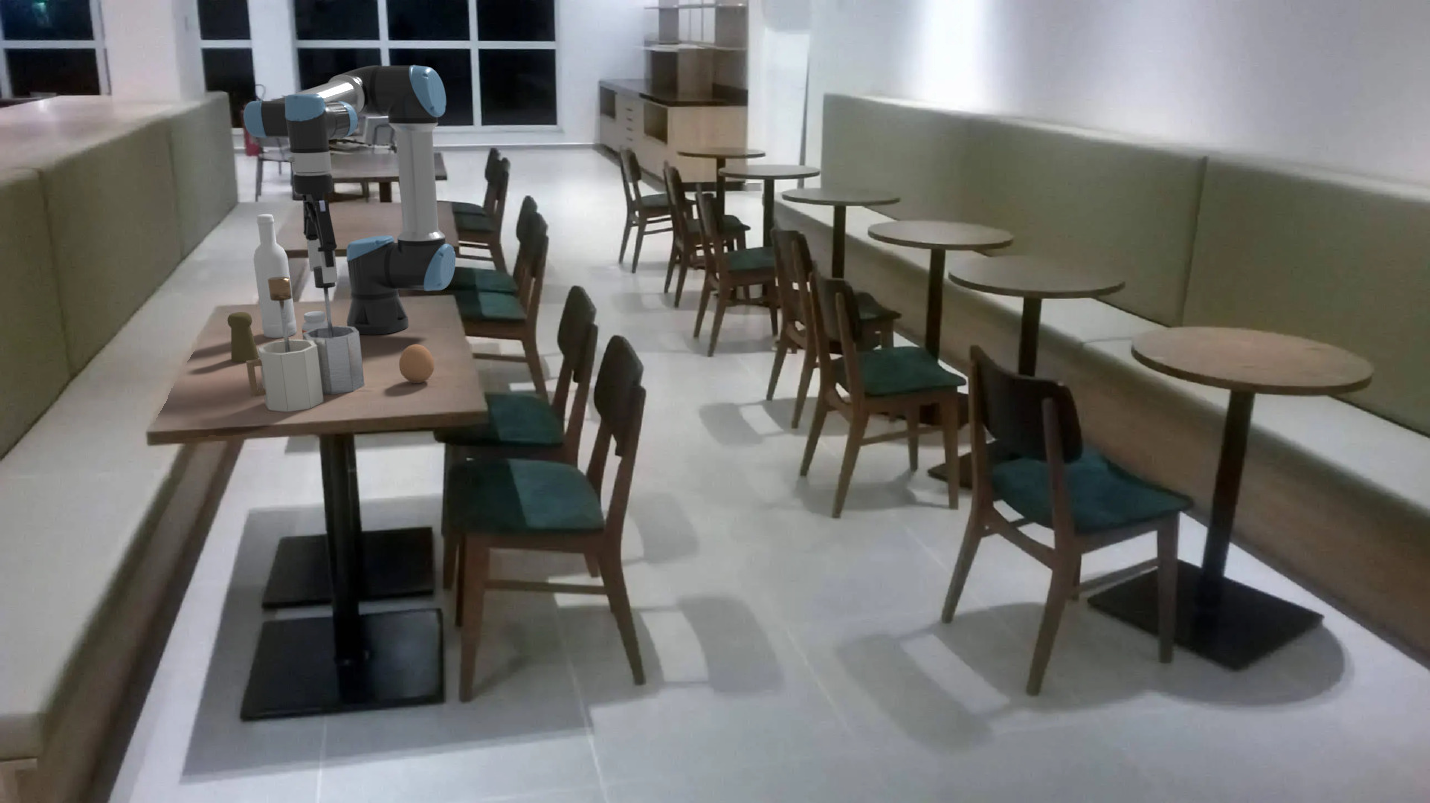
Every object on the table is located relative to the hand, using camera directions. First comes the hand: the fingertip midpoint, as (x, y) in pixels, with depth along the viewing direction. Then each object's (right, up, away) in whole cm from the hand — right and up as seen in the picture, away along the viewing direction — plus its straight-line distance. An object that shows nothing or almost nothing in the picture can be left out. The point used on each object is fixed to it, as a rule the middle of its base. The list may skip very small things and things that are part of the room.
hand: (323, 276), depth 229 cm
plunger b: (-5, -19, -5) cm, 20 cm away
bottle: (-28, -9, +48) cm, 57 cm away
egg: (+17, -22, +11) cm, 30 cm away
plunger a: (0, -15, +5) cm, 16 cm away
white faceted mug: (-6, -26, -3) cm, 27 cm away
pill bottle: (-11, -16, +27) cm, 34 cm away
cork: (-28, -16, +28) cm, 43 cm away
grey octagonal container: (-1, -23, +7) cm, 24 cm away
